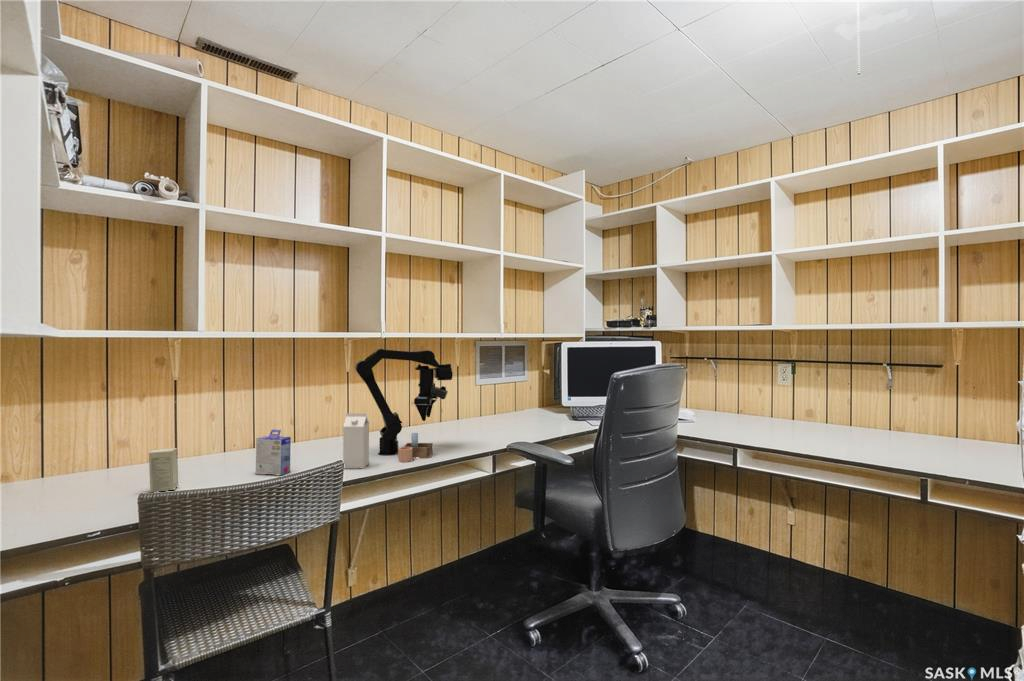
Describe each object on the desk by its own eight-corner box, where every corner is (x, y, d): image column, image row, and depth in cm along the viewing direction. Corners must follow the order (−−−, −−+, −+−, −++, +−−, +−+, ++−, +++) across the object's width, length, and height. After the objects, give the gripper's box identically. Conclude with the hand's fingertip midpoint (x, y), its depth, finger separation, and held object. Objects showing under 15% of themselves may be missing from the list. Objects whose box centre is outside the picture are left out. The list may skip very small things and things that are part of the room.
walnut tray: (402, 457, 191) (402, 447, 191) (407, 452, 199) (407, 442, 199) (428, 458, 191) (428, 447, 191) (432, 453, 199) (432, 443, 199)
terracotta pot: (396, 462, 185) (396, 449, 185) (400, 458, 190) (400, 446, 190) (410, 462, 185) (410, 449, 185) (413, 458, 190) (413, 446, 190)
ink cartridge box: (291, 471, 171) (291, 429, 171) (281, 476, 166) (281, 432, 166) (265, 470, 173) (265, 428, 173) (254, 474, 168) (254, 431, 168)
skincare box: (178, 487, 154) (178, 447, 153) (173, 491, 149) (173, 450, 149) (154, 488, 152) (154, 448, 152) (148, 493, 148) (148, 452, 147)
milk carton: (349, 463, 182) (349, 411, 182) (368, 463, 182) (369, 411, 182) (343, 468, 175) (343, 415, 175) (363, 469, 175) (363, 415, 175)
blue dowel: (411, 455, 194) (408, 434, 194) (412, 453, 197) (409, 433, 196) (420, 454, 194) (417, 433, 194) (421, 452, 197) (418, 431, 196)
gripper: (442, 383, 194) (442, 423, 195) (449, 379, 213) (449, 415, 213) (413, 383, 195) (413, 422, 195) (423, 378, 213) (423, 415, 214)
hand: (426, 418), depth 204 cm, fingers open, 9 cm apart
